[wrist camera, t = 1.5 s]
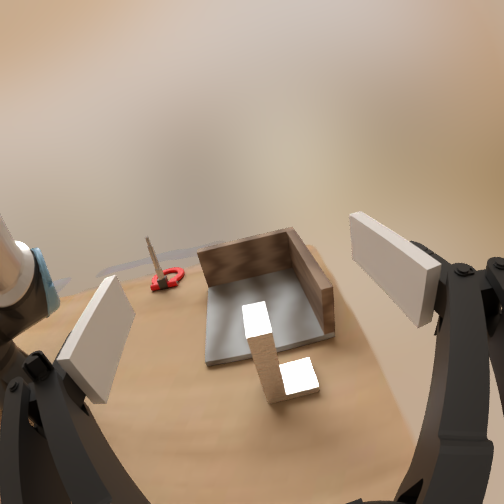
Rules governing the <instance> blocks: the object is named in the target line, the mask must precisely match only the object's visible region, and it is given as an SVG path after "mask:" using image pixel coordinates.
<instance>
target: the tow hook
mask: <svg viewBox="0 0 504 504" xmlns="http://www.w3.org/2000/svg"><path fill="white" fill-rule="evenodd" d="M145 239H146V242H147V244H148V246H147V247H148V250H149V253H150V256H151V259H152V261H153V264H154V267H155V271H156V275H155V276H154V277H153V278H152V284H153V285H151V290H152V291H153V290H158V289H166V288H169V287H173V286H178V281H179V280H180V279H181V278H182V277H183V276H184V270H183V269H182V268H179V267H174V268H169V269H166V270H163V271H162V269H161V267H160V265H159V263H158V260H157V257H156V254H155V252H154V249H153V246H152V244H151V243H150V240H149V237H148V236H146V237H145ZM173 272H176V273H178V274H177V275H176V276H175V277H174V278H172V279H170V280H169V281H168V279H167V276H164V275H166V274H168V273H173Z"/></svg>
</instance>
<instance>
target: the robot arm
mask: <svg viewBox="0 0 504 504" xmlns="http://www.w3.org/2000/svg"><path fill="white" fill-rule="evenodd" d="M349 219H350V231H351V245H352V259H353V260H354V261H355V262H356V263H357V264H358V265H359V266H360V267H361V268H362V269H363V270H364V271H365V272H366V273H367V274H368V275H369V276H370V277H371V278H372V279H373V280H374V281H375V282H376V283H377V284H378V286H379V287H380V288H381V289H382V290H383V291H384V292H385V293H386V294H387V295H388V296H389V297H390V298H391V299H392V300H393V302H394V303H395V304H396V305H397V306H398V307H399V308H400V309H401V310H402V311H403V312H404V313H405V315H406V316H407V317H408V318H409V319H410V320H411V321H412V322H413V324H414V325H415V326H416V327H417V328H419V327H421V326H424V325H426V324H428V323H429V322H431V321H432V317H433V312H434V310H435V311H436V312H437V313H438V314H439V318H438V322H437V326H436V330H435V334H434V335H437V339H436V349H435V359H434V366H433V374H432V381H431V386H430V392H429V397H428V402H427V407H426V411H425V416H424V420H423V424H422V428H421V432H420V436H419V439H418V443H417V446H416V449H415V453H414V456H413V459H412V462H411V465H410V467H409V470H408V472H407V474H406V476H405V478H404V479H403V481H402V483H401V485H400V487H399V489H398V492H397V494H396V496H395V499H394V501H368V502H363V501H362V499H361V498H360V499H358V500H355V501H352V502H349V503H347V504H482V503H483V499H484V496H485V492H486V488H487V484H488V480H489V475H490V471H491V465H492V460H493V452H494V451H493V450H494V446H493V442H492V441H490V440H488V439H487V426H488V425H487V424H488V414H489V394H490V370H489V357H490V360H491V364H492V367H493V371H494V374H495V378H496V382H497V386H498V390H499V394H500V400H501V405H502V410H503V415H504V258H501V257H493V258H490V259H489V260H488V261H487V266H486V269H485V270H479V271H476V270H475V269H474V268H473V267H472V266H469V265H467V264H464V263H455V264H452V265H451V264H450V263H448V262H447V261H446V260H444V259H443V258H441V257H440V256H438V255H437V254H434V252H433V251H431V250H428V248H427V247H425V246H424V245H422V244H420V243H417V242H414V241H410V242H409V241H408V240H406V239H405V238H403V237H401V236H400V235H398V234H397V233H395V232H394V231H392V230H391V229H389V228H387V227H386V226H384V225H383V224H381V223H379V222H378V221H376V220H375V219H373V218H371V217H370V216H368V215H366V214H365V213H363V212H361V211H360V212H356V213H352V214H349ZM59 306H60V299H59V296H58V294H57V292H56V289H55V287H54V284H53V282H52V279H51V277H50V274H49V271H48V269H47V266H46V263H45V261H44V258H43V255H42V253H41V250H40V249H39V248H32V249H29V248H28V247H27V246H26V245H25V244H23V243H22V242H19V241H14V239H13V237H12V235H11V234H10V232H9V230H8V228H7V226H6V224H5V222H4V220H3V219H2V217H1V215H0V409H1V410H2V411H3V412H2V420H1V430H0V496H1V504H71V502H72V504H151V503H150V502H149V501H148V500H147V499H146V497H145V496H144V495H143V494H142V492H141V491H140V490H139V488H138V487H137V486H136V484H135V483H134V482H133V480H132V479H131V477H130V476H129V475H128V473H127V472H126V470H125V469H124V467H123V466H122V464H121V463H120V461H119V460H118V458H117V457H116V455H115V454H114V452H113V450H112V449H111V447H110V446H109V444H108V442H107V440H106V439H105V437H104V435H103V434H102V432H101V430H100V428H99V426H98V424H97V423H96V421H95V419H94V417H93V415H92V413H91V411H90V409H89V407H88V406H87V405H86V403H85V402H84V399H85V396H87V397H88V398H89V399H90V400H91V402H92V403H93V404H107V400H108V397H109V393H110V390H111V386H112V383H113V380H114V376H115V373H116V370H117V367H118V364H119V360H120V357H121V354H122V351H123V348H124V345H125V342H126V339H127V337H128V334H129V331H130V328H131V325H132V323H133V320H134V317H135V312H134V310H133V308H132V306H131V305H130V303H129V301H128V299H127V297H126V295H125V293H124V291H123V288H122V286H121V284H120V282H119V280H118V278H117V276H116V275H113V276H110V277H106V278H105V279H104V280H103V282H102V283H101V285H100V286H99V288H98V289H97V291H96V292H95V294H94V296H93V297H92V299H91V300H90V302H89V304H88V305H87V307H86V308H85V310H84V312H83V313H82V315H81V317H80V318H79V320H78V322H77V323H76V325H75V327H74V329H73V330H72V331H71V332H70V333H69V335H68V337H67V338H66V340H65V343H64V344H63V346H62V348H61V349H60V351H59V353H58V355H57V357H56V359H55V360H54V362H53V364H51V363H50V361H49V360H48V359H47V357H46V356H45V355H44V353H43V352H42V351H35V352H33V353H31V354H30V355H28V354H26V353H25V352H24V351H22V350H21V349H20V348H18V347H17V346H16V345H15V343H14V342H13V340H12V339H14V338H15V337H16V336H18V335H19V334H21V333H22V332H24V331H25V330H27V329H29V328H30V327H32V326H33V325H35V324H36V323H38V322H39V321H41V320H43V319H44V318H48V317H49V316H50V314H52V313H53V312H55V311H56V310H57V309H58V308H59ZM501 307H502V310H501ZM28 418H29V419H30V420H31V421H33V422H34V427H33V426H31V425H30V423H29V421H28Z"/></svg>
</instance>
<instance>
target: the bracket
mask: <svg viewBox="0 0 504 504" xmlns="http://www.w3.org/2000/svg"><path fill="white" fill-rule="evenodd" d="M242 308H243V316H244V324H245V331H246V338H247V342H248V345H249V348H250V351H251V354H252V357H253V360H254V363H255V366H256V369H257V372H258V375H259V378H260V381H261V384H262V387H263V390H264V393H265V396H266V399H267V402H268V404H271V403H275V402H280V401H284V400H288V399H292V398H296V397H300V396H304V395H308V394H312V393H315V392H319V384H318V381H317V379H316V376H315V373H314V370H313V367H312V365H311V362H310V359H309V358H305V359H301V360H298V361H294V362H290V363H286V364H282V365H280V364H279V360H278V356H277V351H276V347H275V343H274V338H273V334H272V330H271V326H270V322H269V318H268V314H267V310H266V305H265V301H263V302H259V303H255V304H250V305H246V306H242Z"/></svg>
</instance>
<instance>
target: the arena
mask: <svg viewBox="0 0 504 504" xmlns="http://www.w3.org/2000/svg"><path fill="white" fill-rule="evenodd" d="M197 254H198V258H199V260H200V264H201V267H202V270H203V273H204V276H205V278H206V281H207V284H208V287H209V288H208V305H207V325H206V348H205V363H206V365H207V366H212V365H218V364H223V363H229V362H234V361H239V360H244V359H249V358H253V357H252V354H251V351H250V348H249V345H248V342H247V338H246V331H245V324H244V316H243V308H242V306H246V305H250V304H255V303H259V302H263V301H265V305H266V310H267V314H268V318H269V322H270V326H271V330H272V334H273V338H274V343H275V347H276V351H277V352H280V351H284V350H288V349H292V348H296V347H300V346H303V345H307V344H311V343H314V342H318V341H321V340H325V339H328V338H332V337H335V321H334V297H333V286H332V284H331V283H330V281H329V280H328V278H327V277H326V275H325V274H324V272H323V271H322V269H321V268H320V266H319V265H318V263H317V262H316V260H315V259H314V257H313V256H312V254H311V253H310V251H309V250H308V248H307V247H306V246H305V244H304V243H303V241H302V240H301V238H300V237H299V235H298V234H297V233H296V231H295V230H294V228H293V227H290V228H285V229H281V230H277V231H273V232H268V233H264V234H259V235H255V236H251V237H247V238H243V239H239V240H234V241H230V242H226V243H222V244H217V245H213V246H209V247H205V248H201V249H198V250H197Z"/></svg>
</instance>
